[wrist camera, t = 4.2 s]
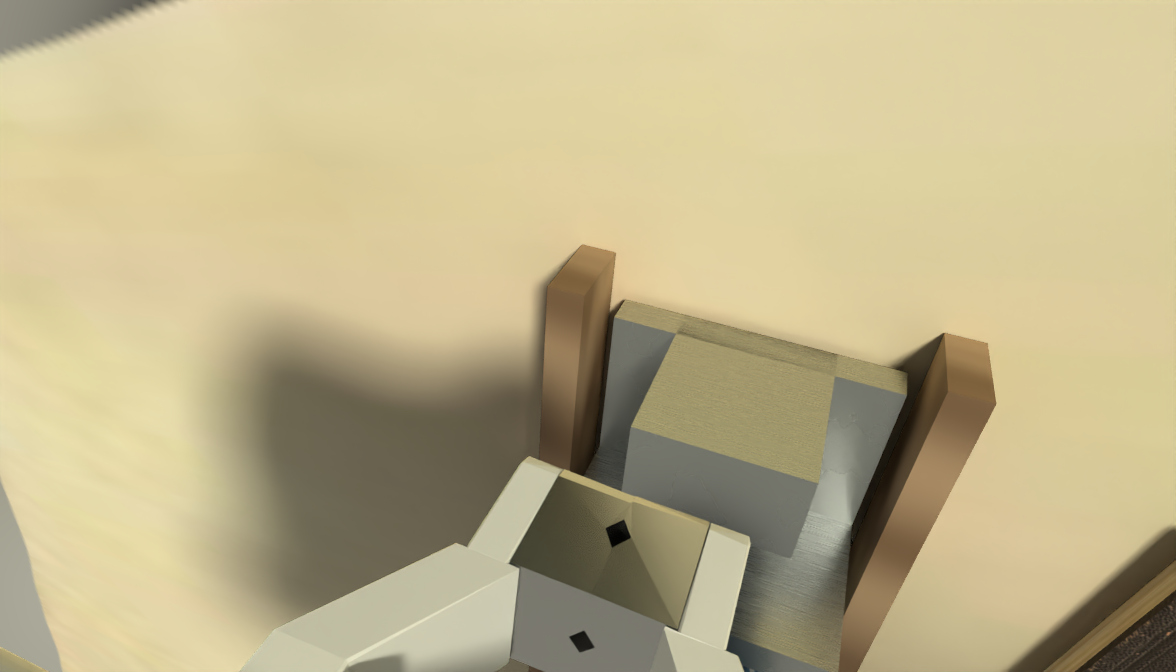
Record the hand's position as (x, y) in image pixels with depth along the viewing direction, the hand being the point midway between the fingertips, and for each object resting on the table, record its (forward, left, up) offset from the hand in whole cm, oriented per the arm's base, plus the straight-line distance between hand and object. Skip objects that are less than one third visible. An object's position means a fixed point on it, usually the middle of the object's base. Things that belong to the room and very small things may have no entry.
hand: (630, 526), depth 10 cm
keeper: (+9, +1, -15) cm, 17 cm away
